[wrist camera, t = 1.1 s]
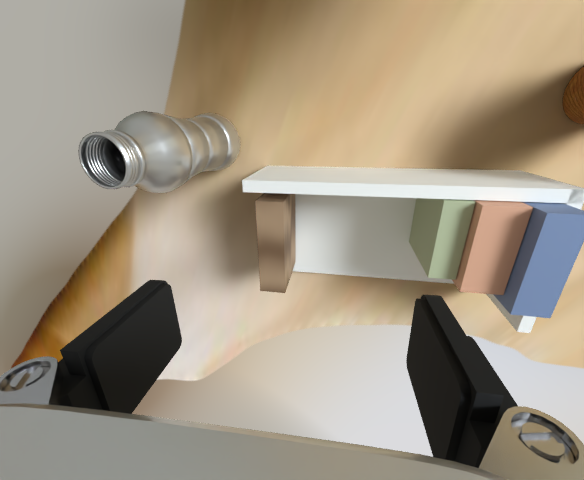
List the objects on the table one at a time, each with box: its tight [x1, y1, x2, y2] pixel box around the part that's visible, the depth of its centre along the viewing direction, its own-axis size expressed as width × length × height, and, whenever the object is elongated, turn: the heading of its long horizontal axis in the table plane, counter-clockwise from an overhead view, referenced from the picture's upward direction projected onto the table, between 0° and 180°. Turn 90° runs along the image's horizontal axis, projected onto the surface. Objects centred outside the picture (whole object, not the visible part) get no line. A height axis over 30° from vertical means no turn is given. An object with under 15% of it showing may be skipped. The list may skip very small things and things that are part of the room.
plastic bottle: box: [79, 111, 240, 193], centre depth 28 cm, size 6×7×20 cm
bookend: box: [255, 193, 296, 293], centre depth 35 cm, size 11×3×8 cm, turn 0°
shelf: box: [242, 166, 584, 333], centre depth 32 cm, size 15×30×13 cm, turn 90°
